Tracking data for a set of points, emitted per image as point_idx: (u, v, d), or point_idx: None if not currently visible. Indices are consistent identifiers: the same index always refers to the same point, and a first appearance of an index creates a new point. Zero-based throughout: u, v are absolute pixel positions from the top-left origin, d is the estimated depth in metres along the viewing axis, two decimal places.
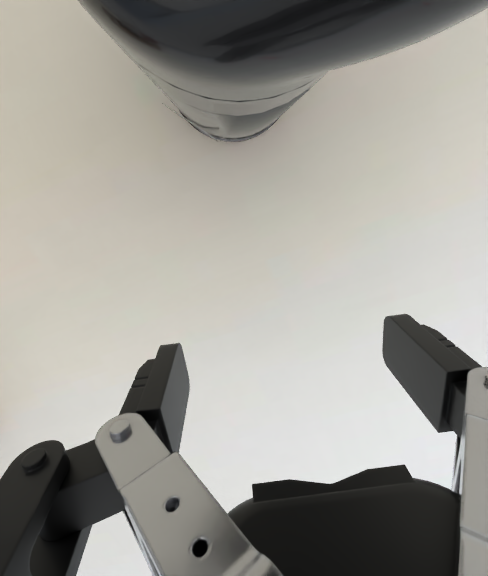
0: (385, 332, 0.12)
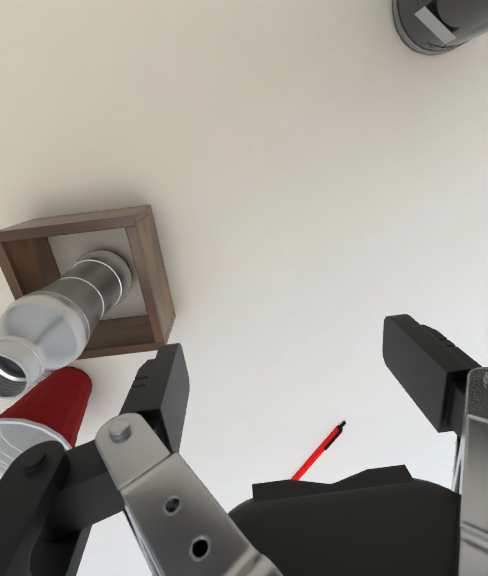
0: (385, 332, 0.12)
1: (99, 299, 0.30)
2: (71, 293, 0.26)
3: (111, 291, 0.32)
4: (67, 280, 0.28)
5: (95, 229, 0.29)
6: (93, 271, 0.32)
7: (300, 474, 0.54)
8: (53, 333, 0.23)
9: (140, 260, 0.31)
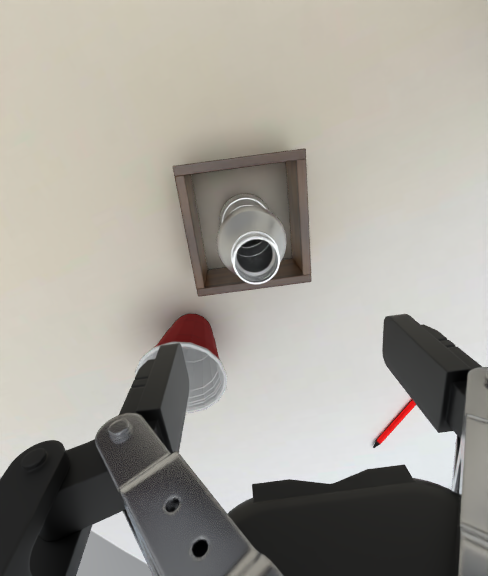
0: (385, 332, 0.12)
1: None
2: None
3: None
4: (251, 205, 0.32)
5: (270, 162, 0.33)
6: (257, 205, 0.35)
7: (394, 426, 0.56)
8: (277, 235, 0.26)
9: (304, 192, 0.34)
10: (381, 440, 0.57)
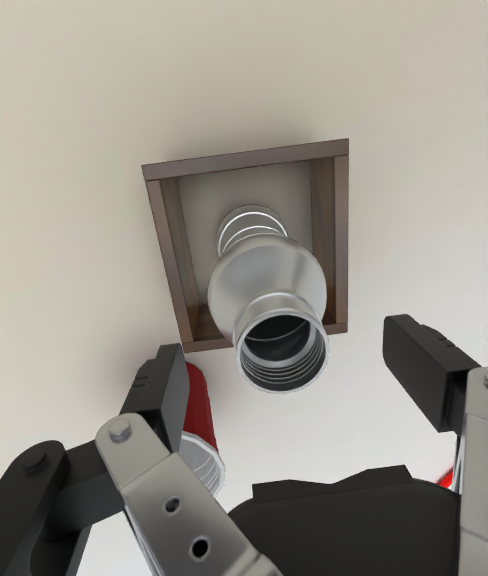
0: (385, 332, 0.12)
1: None
2: None
3: None
4: (263, 228, 0.20)
5: (293, 159, 0.21)
6: (272, 223, 0.23)
7: None
8: (315, 290, 0.14)
9: (343, 206, 0.22)
10: None
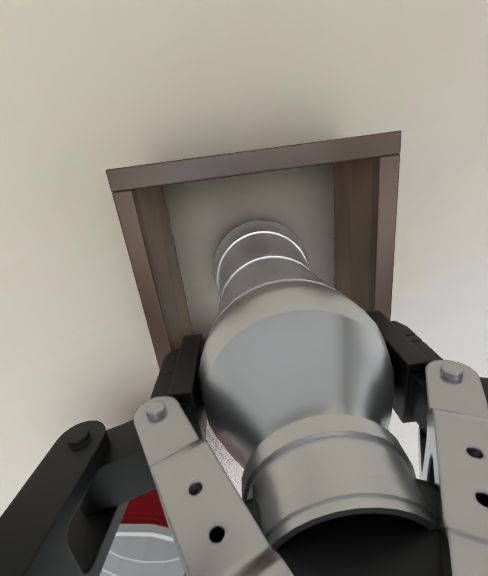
0: None
1: None
2: None
3: None
4: (282, 261, 0.14)
5: (321, 161, 0.15)
6: (290, 249, 0.17)
7: None
8: (385, 390, 0.08)
9: (389, 225, 0.16)
10: None
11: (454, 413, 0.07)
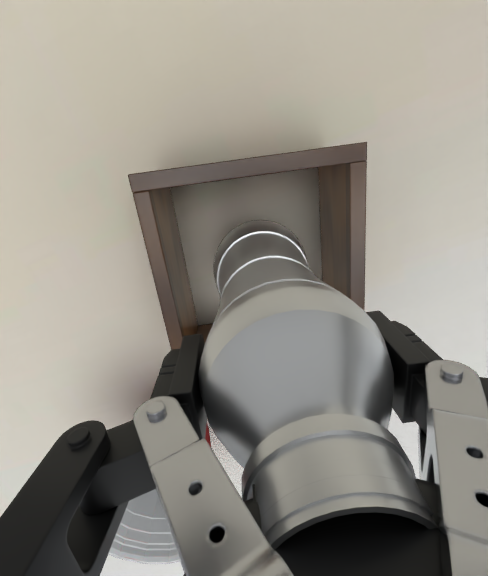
0: None
1: None
2: None
3: None
4: (282, 261, 0.14)
5: (302, 167, 0.18)
6: (289, 249, 0.17)
7: None
8: (385, 390, 0.08)
9: (360, 219, 0.20)
10: None
11: (454, 413, 0.07)
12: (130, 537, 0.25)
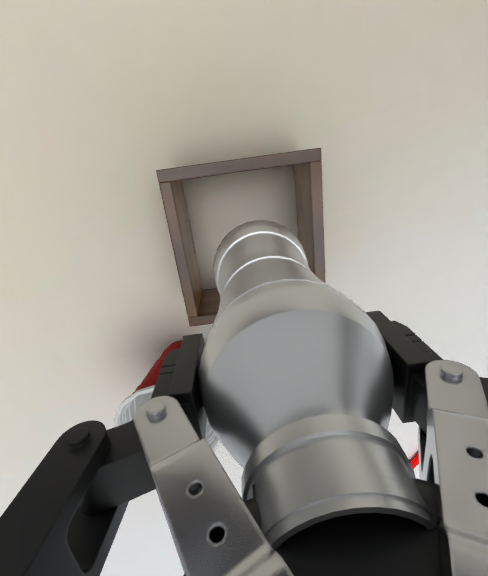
0: None
1: None
2: None
3: None
4: (281, 261, 0.14)
5: (276, 165, 0.26)
6: (289, 249, 0.17)
7: (416, 462, 0.49)
8: (385, 390, 0.08)
9: (318, 202, 0.28)
10: None
11: (454, 413, 0.07)
12: None
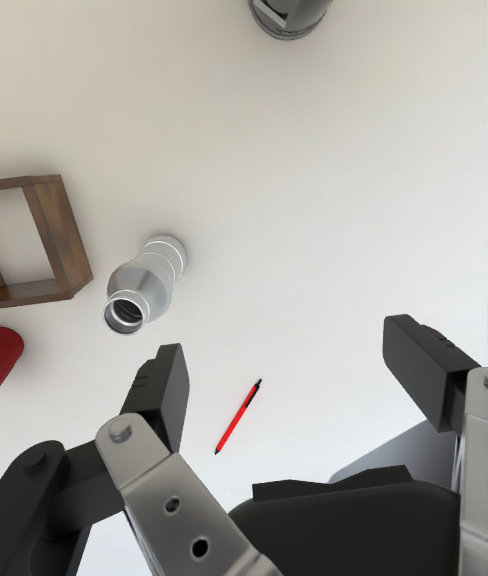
0: (385, 332, 0.12)
1: (172, 270, 0.37)
2: (157, 262, 0.33)
3: (177, 266, 0.39)
4: (149, 254, 0.35)
5: None
6: (164, 249, 0.38)
7: (228, 433, 0.58)
8: (153, 289, 0.30)
9: (38, 216, 0.36)
10: (219, 447, 0.59)
11: None
12: None
